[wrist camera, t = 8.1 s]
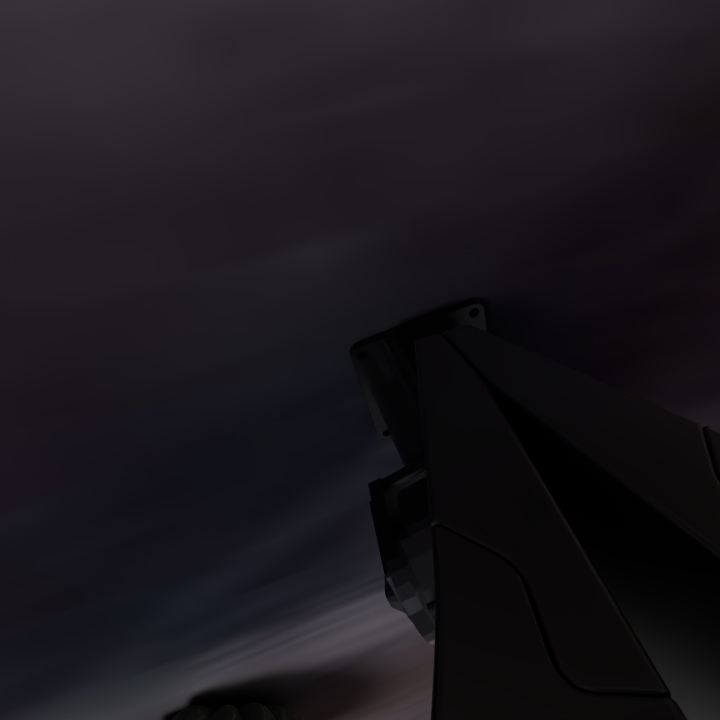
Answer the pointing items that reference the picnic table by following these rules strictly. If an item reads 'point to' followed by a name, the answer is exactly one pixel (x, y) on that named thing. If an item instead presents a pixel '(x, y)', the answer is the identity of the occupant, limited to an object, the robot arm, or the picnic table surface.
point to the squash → (236, 713)
